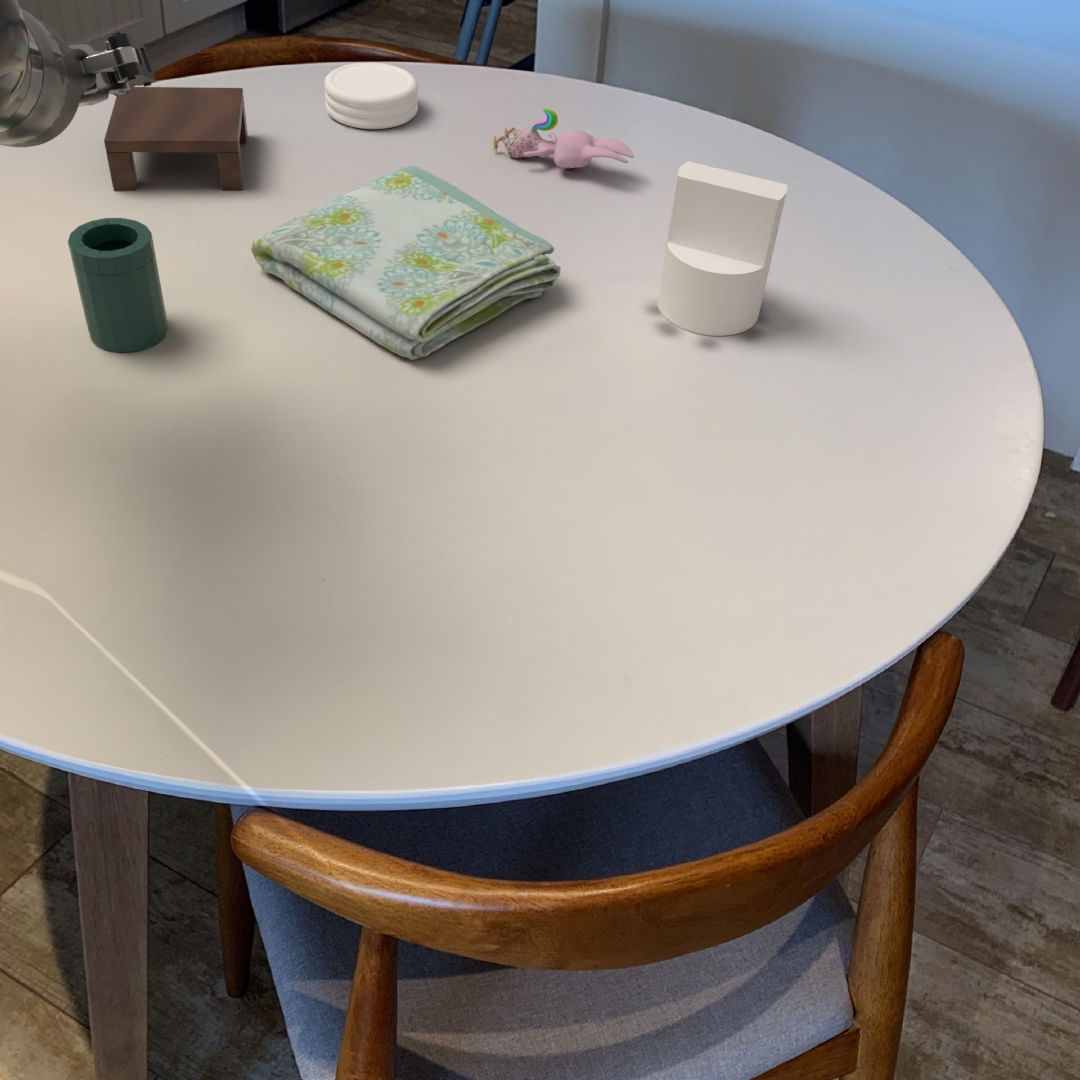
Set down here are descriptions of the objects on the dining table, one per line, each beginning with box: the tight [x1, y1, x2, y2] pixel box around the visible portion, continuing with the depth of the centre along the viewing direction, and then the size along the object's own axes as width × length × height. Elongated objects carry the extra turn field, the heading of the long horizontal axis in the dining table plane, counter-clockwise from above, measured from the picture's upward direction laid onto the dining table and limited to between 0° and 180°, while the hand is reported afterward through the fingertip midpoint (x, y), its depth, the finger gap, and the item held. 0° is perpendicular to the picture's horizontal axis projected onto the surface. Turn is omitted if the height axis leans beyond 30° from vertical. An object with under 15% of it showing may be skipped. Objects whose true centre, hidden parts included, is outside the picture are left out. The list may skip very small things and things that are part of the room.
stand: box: [103, 86, 249, 191], centre depth 115 cm, size 12×12×5 cm
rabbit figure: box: [492, 108, 635, 169], centre depth 120 cm, size 6×6×15 cm
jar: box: [67, 217, 168, 353], centre depth 93 cm, size 6×6×8 cm
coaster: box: [323, 62, 419, 130], centre depth 127 cm, size 10×10×4 cm
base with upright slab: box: [657, 160, 789, 337], centre depth 100 cm, size 9×9×12 cm
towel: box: [250, 165, 561, 361], centre depth 102 cm, size 18×21×5 cm
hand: (57, 96), depth 80 cm, fingers open, 8 cm apart
